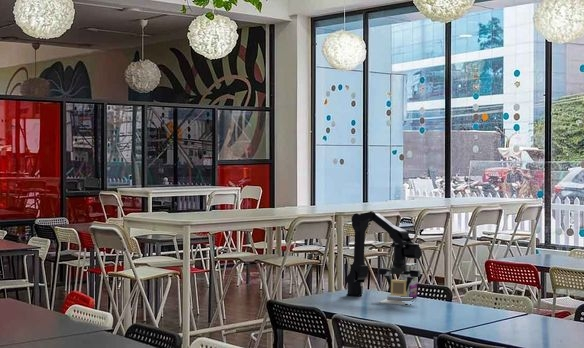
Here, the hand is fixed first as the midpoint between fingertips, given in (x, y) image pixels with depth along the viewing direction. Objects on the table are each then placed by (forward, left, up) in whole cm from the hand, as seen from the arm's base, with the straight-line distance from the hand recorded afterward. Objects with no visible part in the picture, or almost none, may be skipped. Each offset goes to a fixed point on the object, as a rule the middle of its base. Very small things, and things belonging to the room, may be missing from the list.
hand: (398, 291), depth 401 cm
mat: (0, -2, -5) cm, 5 cm away
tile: (0, 0, -2) cm, 2 cm away
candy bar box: (+1, +18, -5) cm, 19 cm away
